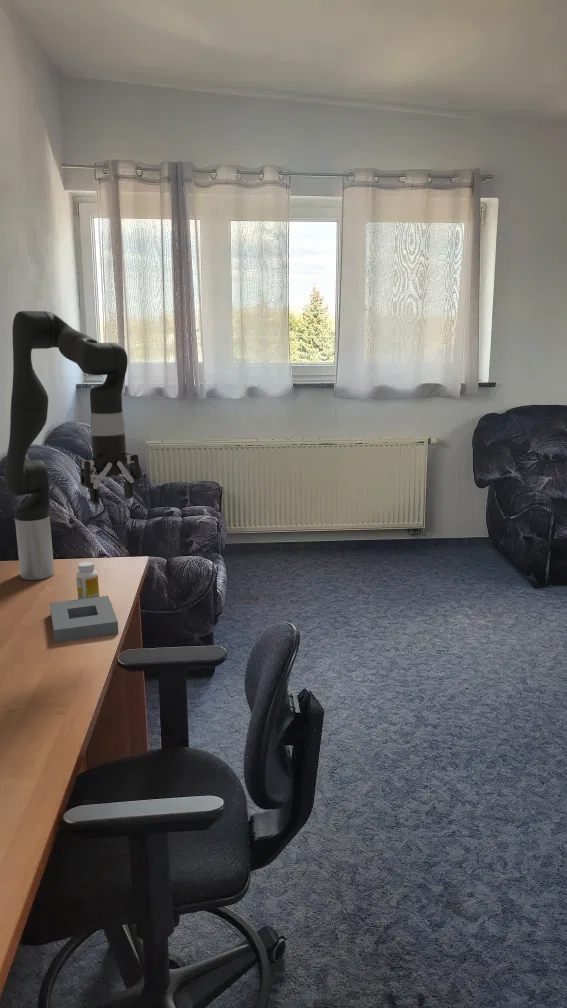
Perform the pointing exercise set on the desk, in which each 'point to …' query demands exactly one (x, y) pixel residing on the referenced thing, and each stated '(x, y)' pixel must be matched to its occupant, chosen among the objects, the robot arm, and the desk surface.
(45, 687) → the desk surface
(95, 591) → the supplement bottle
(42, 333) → the robot arm
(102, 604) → the socket holder
